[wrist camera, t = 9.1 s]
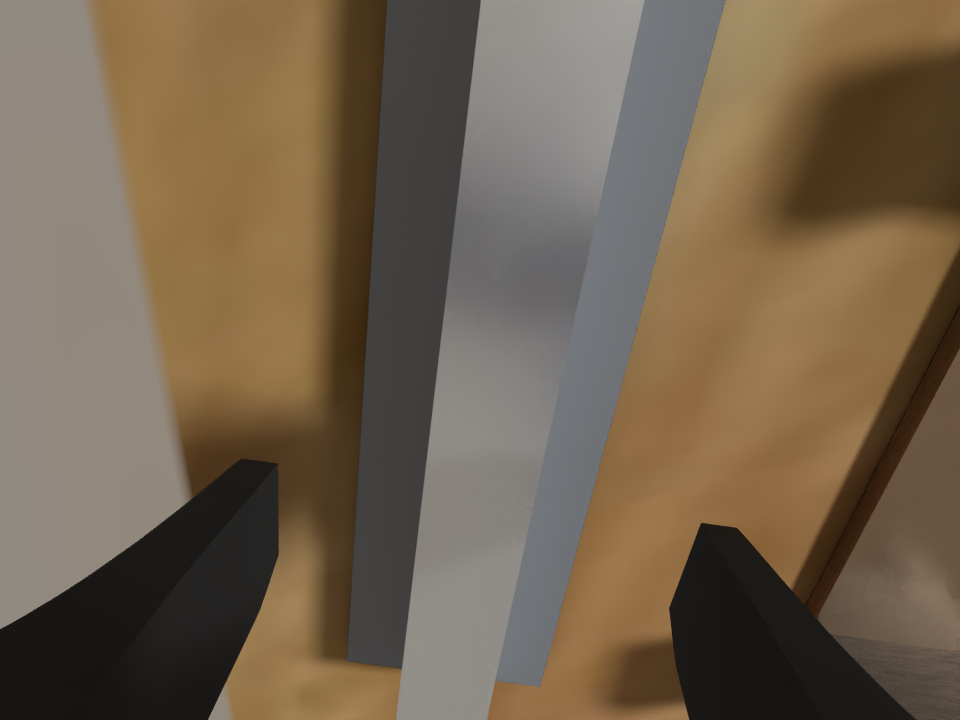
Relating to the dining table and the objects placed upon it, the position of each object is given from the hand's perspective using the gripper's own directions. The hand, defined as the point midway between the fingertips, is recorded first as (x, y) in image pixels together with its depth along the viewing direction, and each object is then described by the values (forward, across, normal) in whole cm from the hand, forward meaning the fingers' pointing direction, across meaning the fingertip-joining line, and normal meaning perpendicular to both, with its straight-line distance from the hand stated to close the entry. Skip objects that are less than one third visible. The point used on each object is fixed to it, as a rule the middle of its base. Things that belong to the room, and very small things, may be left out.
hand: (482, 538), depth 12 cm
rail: (+5, 0, 0) cm, 5 cm away
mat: (+6, 0, 0) cm, 6 cm away
